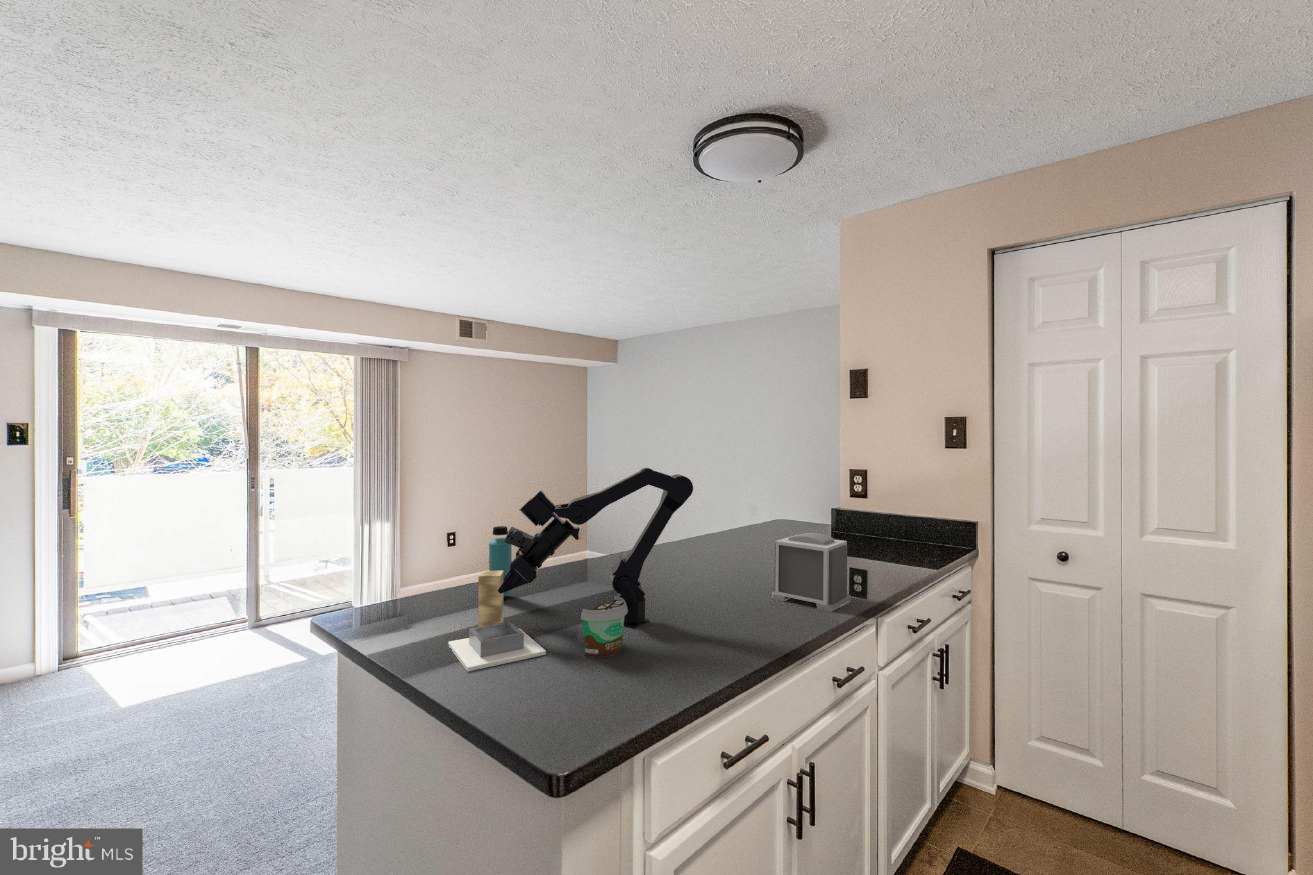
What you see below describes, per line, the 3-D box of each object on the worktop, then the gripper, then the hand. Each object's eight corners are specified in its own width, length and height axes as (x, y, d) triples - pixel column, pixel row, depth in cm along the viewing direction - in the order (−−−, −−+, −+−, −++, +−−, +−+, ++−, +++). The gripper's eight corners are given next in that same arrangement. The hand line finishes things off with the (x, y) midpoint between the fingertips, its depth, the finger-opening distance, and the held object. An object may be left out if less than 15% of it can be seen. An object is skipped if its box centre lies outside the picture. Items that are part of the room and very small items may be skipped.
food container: (604, 664, 114) (604, 614, 114) (580, 658, 117) (580, 609, 117) (638, 645, 124) (639, 599, 124) (615, 639, 128) (616, 595, 128)
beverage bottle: (517, 596, 161) (517, 525, 161) (501, 602, 155) (501, 529, 155) (499, 593, 164) (499, 523, 163) (482, 599, 158) (483, 527, 157)
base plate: (519, 631, 132) (519, 628, 132) (545, 654, 119) (545, 650, 119) (448, 645, 124) (448, 641, 124) (467, 671, 110) (467, 667, 110)
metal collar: (509, 635, 128) (509, 621, 127) (523, 648, 120) (523, 633, 120) (468, 643, 123) (468, 628, 123) (480, 657, 115) (480, 641, 115)
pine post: (503, 624, 138) (503, 570, 138) (500, 631, 133) (500, 575, 133) (481, 624, 137) (482, 570, 137) (478, 632, 132) (478, 576, 132)
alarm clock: (852, 601, 158) (852, 535, 158) (832, 612, 148) (833, 542, 148) (791, 589, 170) (792, 527, 170) (769, 598, 160) (770, 533, 160)
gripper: (528, 510, 145) (483, 554, 144) (521, 522, 126) (469, 572, 125) (559, 541, 146) (515, 585, 145) (557, 557, 128) (506, 607, 126)
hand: (501, 586), depth 135 cm, fingers open, 9 cm apart
